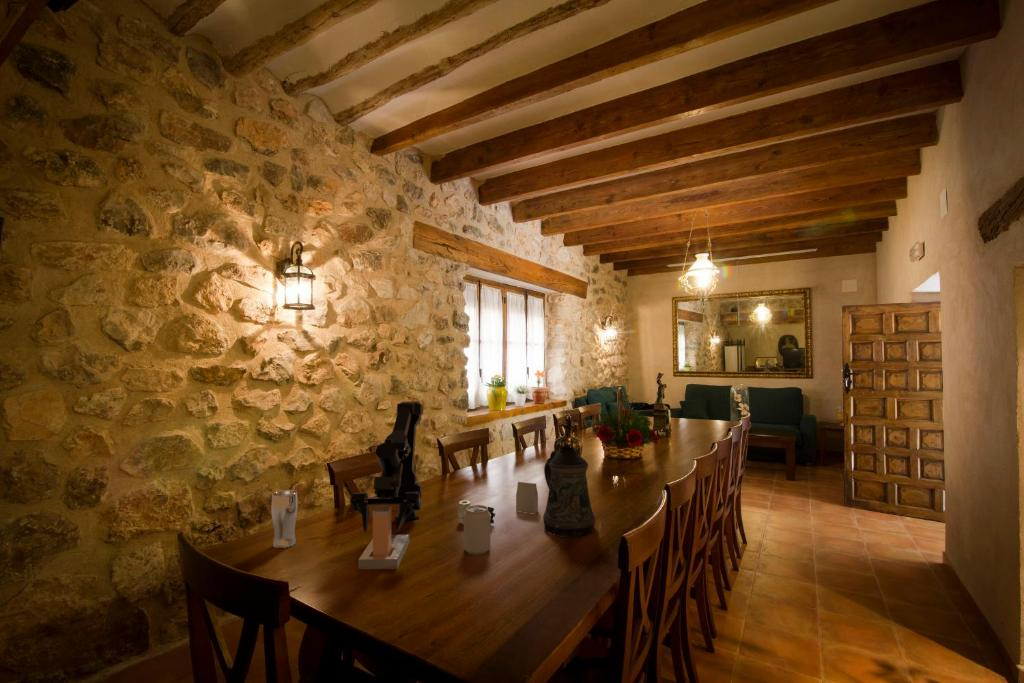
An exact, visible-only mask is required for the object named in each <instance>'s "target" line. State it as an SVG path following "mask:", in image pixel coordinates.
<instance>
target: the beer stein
mask: <svg viewBox="0 0 1024 683" xmlns="http://www.w3.org/2000/svg"><path fill="white" fill-rule="evenodd" d="M588 467H589V463H588V461H586V459H585V458H583V457H582V456H581V455H580V454H578V453H577V452H576V450H575V448H573V447H567V446H565V447H564V446H563V447H560V449H559V450H552V451H551V453H550V456H549V458H547V460H546V462H545V464H544V467H543V472H544V478H545V482H546V485H547V487H548V496H547V501H546V506H545V510H544V513H543V516H542V521H543V525H544V526H543V528H544V530H545V529H546V530H547V531H548V532H550V533H552V534H551V535H553V534H555V535H559V536H558V537H560V536H563V537H562V538H568V537H576V538H582V537H583V536H584V537H586V536H589V535H592V534H593V532H594V529H595V524H596V517H595V514H594V512H593V510H592V504H591V499H590V494H589V493H590V492H589V486H588V480H587V471H588ZM546 530H545V531H546ZM547 531H546V532H547ZM548 532H547V533H548ZM550 533H549V534H550ZM555 535H554V536H555ZM584 537H583V538H584Z"/></svg>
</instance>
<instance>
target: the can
mask: <svg viewBox="0 0 1024 683" xmlns="http://www.w3.org/2000/svg"><path fill="white" fill-rule="evenodd" d="M488 507H489V506H487V505H484V504H483V505H482V504H472V505H470V506H469V507H467V508H466V510H467V511H466V512H465V513H464V524H463V549H464V550H465V551H466V552H467V554H470V555H473V554H474V555H475V556H476V555H478V556H479V555H483V554H486V553H487V552H488V551H489V550H490V549H491V527H490V525H491V524H490V519H491V518H490V515H491V514H490V512H489V511H488Z"/></svg>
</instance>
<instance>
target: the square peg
mask: <svg viewBox="0 0 1024 683" xmlns="http://www.w3.org/2000/svg"><path fill="white" fill-rule="evenodd" d="M392 509H393V508H392V505H390V506H386V505H384V506H375V508H374V509H373V510H372V539H373V557H379V556H391V535H392Z"/></svg>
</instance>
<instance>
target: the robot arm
mask: <svg viewBox="0 0 1024 683" xmlns="http://www.w3.org/2000/svg"><path fill="white" fill-rule="evenodd" d="M422 415H424V404H422V403H421V402H420V401H401V402H399V403H397V404H396V416H395V417H396V418H395V421H394V424H393V429H392V432H391V433H390V434H389V435H387V436H386V438H385V439H384V442H382V443H380V444H378V446H377V447H376V448H375V456H376V458H377V462H378V464H379V467H380V468H381V471H380V476H375V477H374V478H373V479H374V480H373V486H372V488H373V490H374V492H373V493H374V495H376V496H375V497H374V496H372V497H371V496H368V493H367V492H360V491H359V492H353V493H352V494H351V495H350V499H349V504H350V506H351V507H352V510H353V511H355V512H357V513H358V514H361V519H362V520H361V521H362V526H363V528H362V529H363V532H364V533H366V532H367V530H368V526H369V521H370V520H369V519H370V514H371V510H370V509H369V506H371V505H372V506H373V505H376V506H378V505H382V506H383V505H384V506H386V505H398V509H397V514H394V517H395V518H396V519H397V521H396V526H395V532H397V533H398V532H399V531H400V529H401V528H402V526H403V525H404V523H405V522H407V521H412V520H417V518H418V519H420V515H418V514H417V513H416V511H420V510H421V508H422V488H421V485H420V483H419V482H418V480H419V478H418V476H417V474H416V471H415V469H414V468H415V450H416V438H417V436H416V435H417V433H416V432H417V426H419V424H420V423H421V421H422Z"/></svg>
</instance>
